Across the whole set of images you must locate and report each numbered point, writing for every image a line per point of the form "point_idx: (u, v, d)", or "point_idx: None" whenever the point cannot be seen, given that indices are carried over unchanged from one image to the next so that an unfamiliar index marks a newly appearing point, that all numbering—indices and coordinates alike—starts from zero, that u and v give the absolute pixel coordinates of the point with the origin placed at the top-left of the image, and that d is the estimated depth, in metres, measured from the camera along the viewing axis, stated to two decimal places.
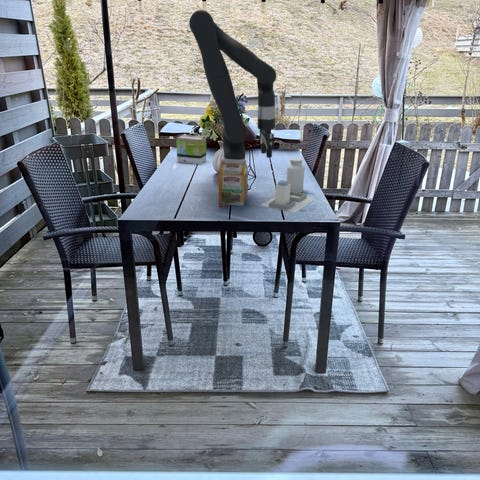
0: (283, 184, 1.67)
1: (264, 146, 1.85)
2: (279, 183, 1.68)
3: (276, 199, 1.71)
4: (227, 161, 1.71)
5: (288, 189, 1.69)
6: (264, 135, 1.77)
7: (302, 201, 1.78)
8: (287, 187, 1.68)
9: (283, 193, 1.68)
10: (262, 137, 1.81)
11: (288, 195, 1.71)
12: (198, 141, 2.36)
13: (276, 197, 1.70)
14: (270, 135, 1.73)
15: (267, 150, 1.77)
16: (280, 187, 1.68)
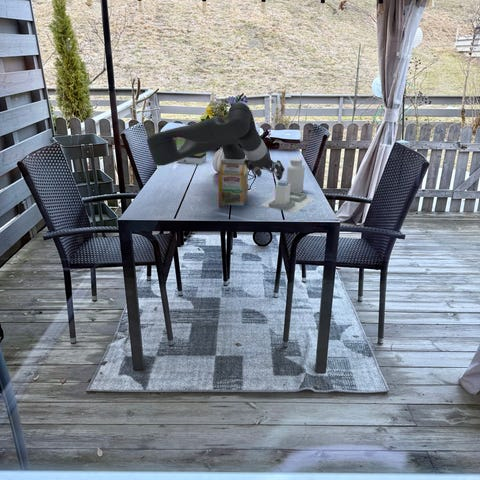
0: (283, 184, 1.67)
1: (258, 170, 1.57)
2: (279, 183, 1.68)
3: (276, 199, 1.71)
4: (227, 161, 1.71)
5: (288, 189, 1.69)
6: (266, 167, 1.49)
7: (302, 201, 1.78)
8: (287, 187, 1.68)
9: (283, 193, 1.68)
10: (258, 167, 1.52)
11: (288, 195, 1.71)
12: None
13: (276, 197, 1.70)
14: (278, 164, 1.46)
15: (277, 175, 1.52)
16: (280, 187, 1.68)
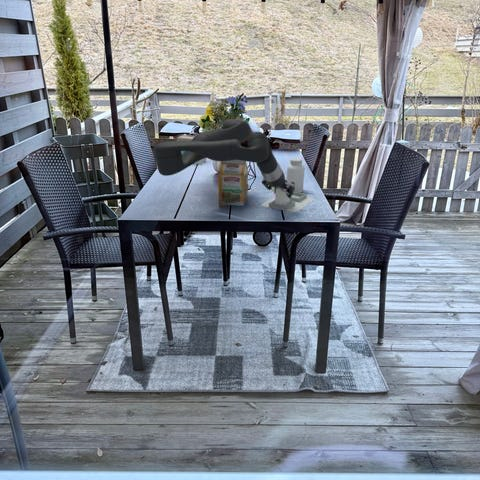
0: None
1: None
2: None
3: (276, 199, 1.71)
4: (227, 161, 1.71)
5: None
6: (280, 186, 1.63)
7: (302, 201, 1.78)
8: None
9: (283, 193, 1.68)
10: (274, 186, 1.66)
11: None
12: None
13: (276, 197, 1.70)
14: (293, 186, 1.62)
15: (288, 194, 1.68)
16: None
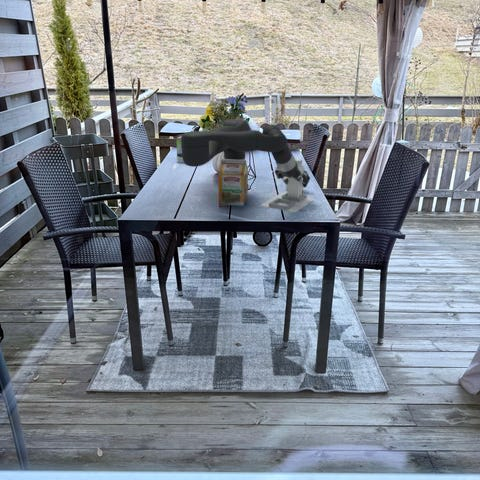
0: None
1: (286, 178, 1.80)
2: None
3: (289, 192, 1.80)
4: (227, 161, 1.71)
5: None
6: (294, 176, 1.72)
7: (302, 201, 1.78)
8: None
9: (296, 186, 1.77)
10: (287, 176, 1.75)
11: (301, 188, 1.80)
12: None
13: (289, 190, 1.79)
14: (305, 174, 1.69)
15: (303, 183, 1.76)
16: (293, 180, 1.77)
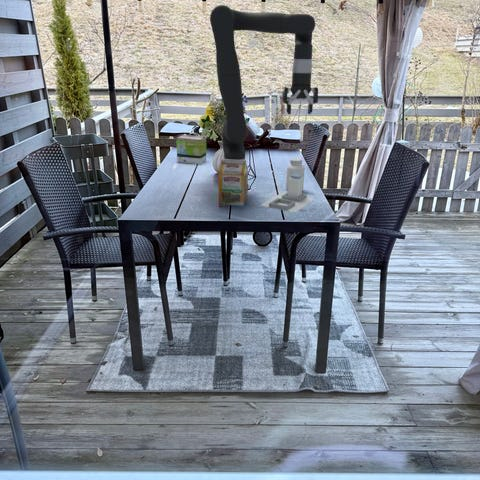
0: (296, 177, 1.76)
1: None
2: (292, 176, 1.77)
3: (289, 192, 1.80)
4: (227, 161, 1.71)
5: (301, 182, 1.78)
6: (306, 91, 1.68)
7: (302, 201, 1.78)
8: (300, 180, 1.77)
9: (296, 186, 1.77)
10: (297, 94, 1.68)
11: (301, 188, 1.80)
12: (198, 141, 2.36)
13: (289, 190, 1.79)
14: None
15: (311, 106, 1.71)
16: (293, 180, 1.77)
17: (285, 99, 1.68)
